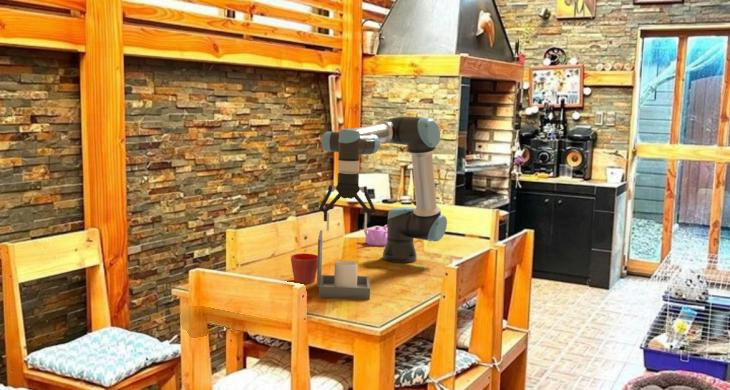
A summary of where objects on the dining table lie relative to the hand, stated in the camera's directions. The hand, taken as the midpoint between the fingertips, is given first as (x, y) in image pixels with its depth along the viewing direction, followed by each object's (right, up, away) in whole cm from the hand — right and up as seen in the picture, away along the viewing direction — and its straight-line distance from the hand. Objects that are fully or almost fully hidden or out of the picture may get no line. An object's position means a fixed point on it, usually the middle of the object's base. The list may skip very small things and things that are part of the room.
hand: (346, 231), depth 253 cm
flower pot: (-17, -20, +17) cm, 31 cm away
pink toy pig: (+12, -11, +91) cm, 93 cm away
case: (-1, -22, +4) cm, 23 cm away
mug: (0, -22, +3) cm, 22 cm away
